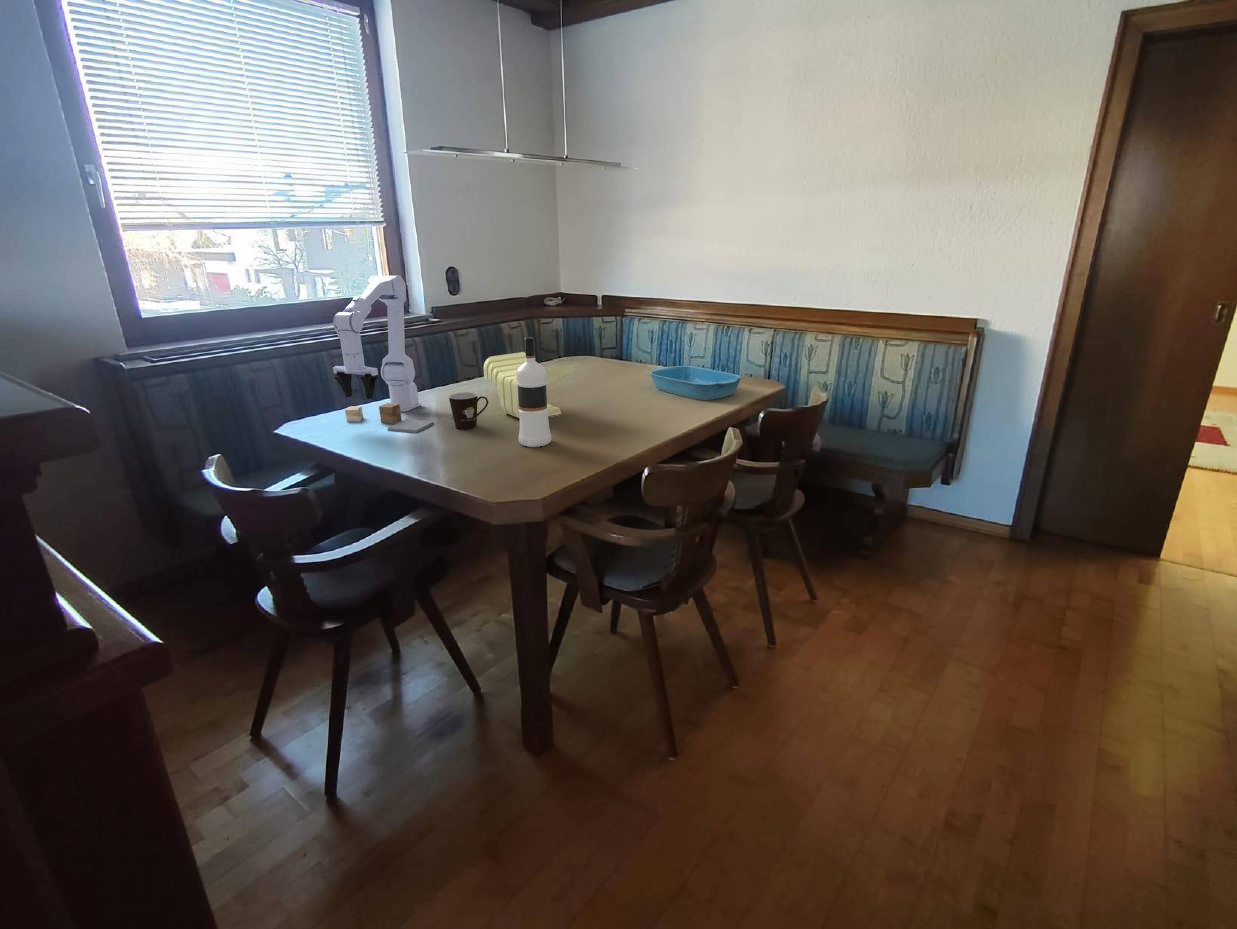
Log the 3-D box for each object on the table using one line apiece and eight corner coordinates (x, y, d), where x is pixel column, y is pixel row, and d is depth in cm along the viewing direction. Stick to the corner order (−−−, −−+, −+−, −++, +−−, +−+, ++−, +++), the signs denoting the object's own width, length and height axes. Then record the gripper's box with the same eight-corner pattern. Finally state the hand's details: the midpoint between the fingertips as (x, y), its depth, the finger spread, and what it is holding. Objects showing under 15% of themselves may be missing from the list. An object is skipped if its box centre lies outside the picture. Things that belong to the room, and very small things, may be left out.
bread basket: (486, 409, 221) (482, 357, 215) (527, 402, 230) (524, 351, 224) (534, 429, 199) (530, 371, 193) (576, 419, 208) (574, 364, 202)
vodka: (518, 448, 181) (510, 340, 171) (519, 438, 189) (512, 335, 179) (551, 447, 182) (546, 339, 171) (551, 437, 190) (546, 334, 180)
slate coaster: (406, 421, 208) (406, 419, 208) (434, 423, 205) (433, 421, 205) (387, 430, 199) (387, 427, 199) (416, 432, 196) (415, 430, 196)
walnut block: (389, 419, 211) (387, 402, 209) (401, 420, 210) (399, 403, 208) (381, 423, 207) (378, 406, 205) (393, 424, 206) (391, 407, 204)
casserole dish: (639, 388, 250) (639, 369, 247) (681, 379, 263) (681, 362, 260) (709, 406, 222) (709, 386, 220) (752, 396, 235) (753, 377, 233)
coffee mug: (451, 432, 197) (447, 399, 193) (452, 424, 205) (449, 393, 201) (490, 429, 199) (487, 397, 195) (489, 421, 207) (487, 391, 203)
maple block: (350, 418, 213) (349, 406, 212) (363, 418, 213) (361, 406, 212) (346, 421, 209) (344, 409, 208) (359, 421, 209) (357, 409, 208)
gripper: (323, 354, 192) (330, 399, 197) (364, 356, 188) (371, 402, 193) (339, 350, 199) (346, 393, 204) (379, 352, 195) (385, 396, 199)
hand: (359, 397), depth 199 cm, fingers open, 7 cm apart
